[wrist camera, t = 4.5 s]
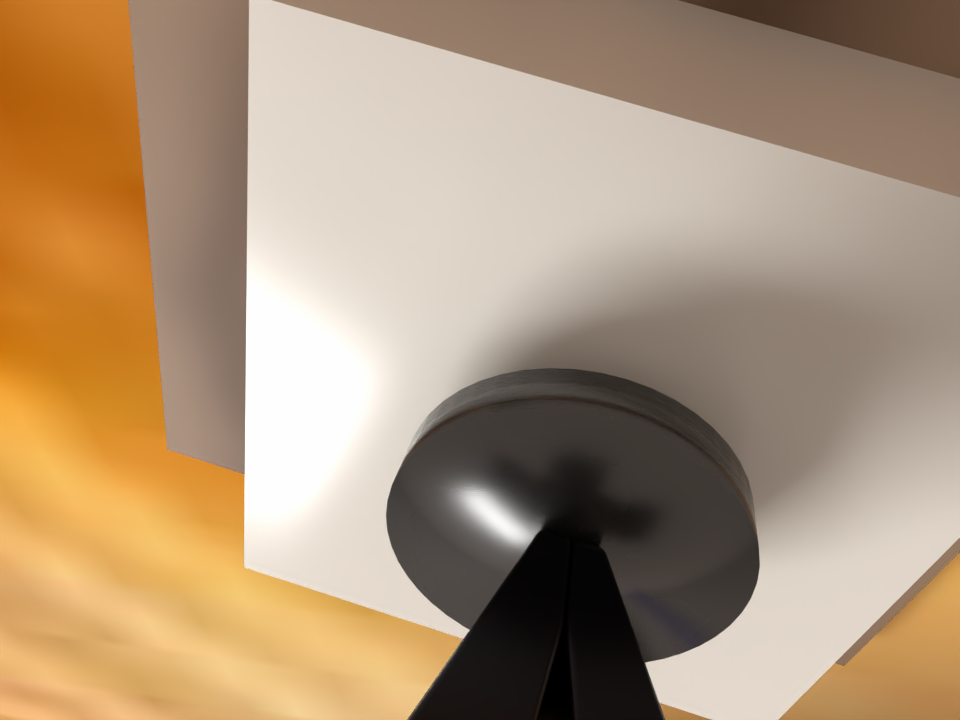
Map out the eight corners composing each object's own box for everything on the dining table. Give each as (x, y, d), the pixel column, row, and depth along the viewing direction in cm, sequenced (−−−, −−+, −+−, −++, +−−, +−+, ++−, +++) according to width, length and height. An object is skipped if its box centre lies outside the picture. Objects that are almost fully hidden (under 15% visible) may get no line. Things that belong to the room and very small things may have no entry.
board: (1715, -277, 9) (1814, -288, 8) (838, 636, 23) (843, 665, 22) (113, -666, 10) (66, -709, 9) (184, 429, 24) (167, 449, 23)
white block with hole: (981, 85, 12) (1222, 273, 7) (735, 474, 18) (762, 735, 13) (428, -70, 13) (248, -7, 7) (366, 360, 19) (243, 567, 13)
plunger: (764, 204, 13) (836, 490, 7) (672, 388, 16) (672, 701, 10) (527, 135, 13) (415, 360, 8) (477, 328, 16) (367, 601, 10)
